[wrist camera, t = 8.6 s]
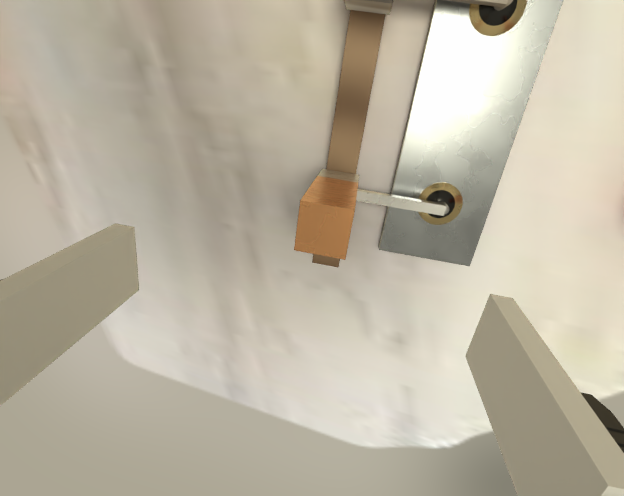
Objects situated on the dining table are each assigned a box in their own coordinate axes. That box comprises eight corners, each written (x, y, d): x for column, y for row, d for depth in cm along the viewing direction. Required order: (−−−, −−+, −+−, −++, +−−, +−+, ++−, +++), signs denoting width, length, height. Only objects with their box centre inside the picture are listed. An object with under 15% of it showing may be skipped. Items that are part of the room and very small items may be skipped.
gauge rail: (370, -139, 23) (371, -233, 16) (537, -124, 22) (606, -216, 16) (312, 253, 34) (299, 288, 28) (421, 273, 33) (433, 314, 27)
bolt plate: (456, -89, 23) (460, -98, 22) (583, -76, 22) (594, -85, 21) (378, 245, 33) (379, 250, 32) (466, 261, 32) (469, 266, 31)
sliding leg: (323, 166, 29) (300, 200, 19) (451, 188, 28) (495, 234, 18) (318, 201, 30) (294, 250, 20) (440, 223, 29) (476, 284, 20)
